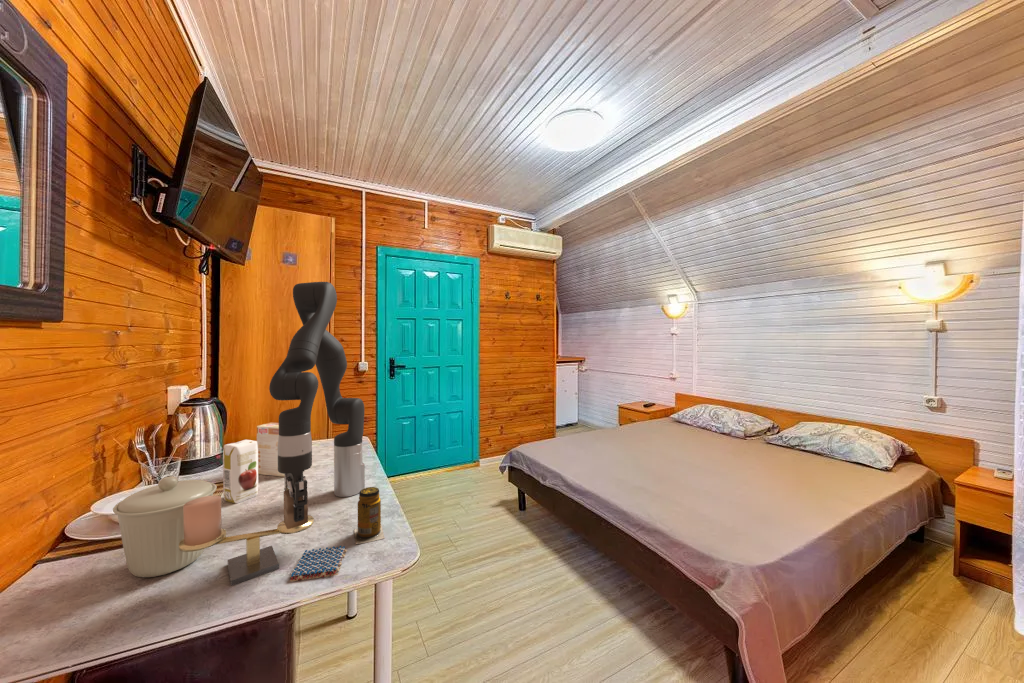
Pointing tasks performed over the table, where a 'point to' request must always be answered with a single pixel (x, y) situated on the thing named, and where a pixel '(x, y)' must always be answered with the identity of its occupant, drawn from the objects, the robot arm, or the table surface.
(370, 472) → the table surface
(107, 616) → the table surface
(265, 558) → the balance
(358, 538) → the condiment
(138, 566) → the canister
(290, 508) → the block
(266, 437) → the coffeecake box
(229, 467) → the juice carton
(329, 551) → the woven mat
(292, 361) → the robot arm
